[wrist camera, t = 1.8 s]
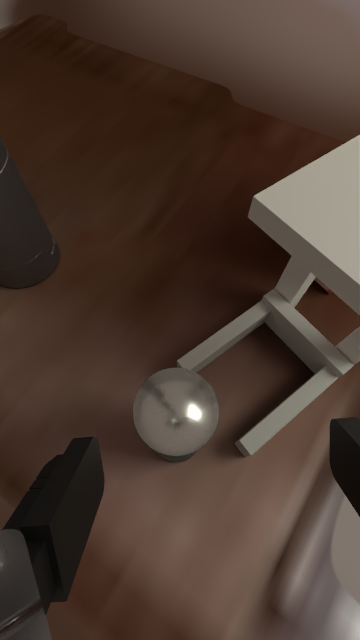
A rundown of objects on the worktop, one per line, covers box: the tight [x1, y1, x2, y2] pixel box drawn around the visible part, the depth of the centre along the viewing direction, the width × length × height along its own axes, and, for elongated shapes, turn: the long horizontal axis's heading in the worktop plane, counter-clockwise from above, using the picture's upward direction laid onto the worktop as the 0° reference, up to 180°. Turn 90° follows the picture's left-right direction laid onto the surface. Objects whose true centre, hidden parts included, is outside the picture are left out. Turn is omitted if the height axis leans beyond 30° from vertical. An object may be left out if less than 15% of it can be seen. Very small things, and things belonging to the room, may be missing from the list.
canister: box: [133, 368, 219, 463], centre depth 25 cm, size 5×5×14 cm
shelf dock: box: [177, 135, 360, 457], centre depth 25 cm, size 16×12×21 cm
